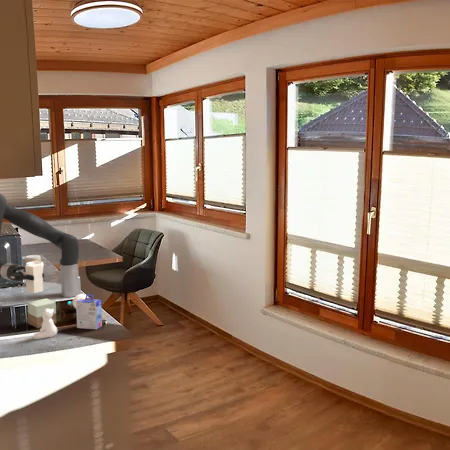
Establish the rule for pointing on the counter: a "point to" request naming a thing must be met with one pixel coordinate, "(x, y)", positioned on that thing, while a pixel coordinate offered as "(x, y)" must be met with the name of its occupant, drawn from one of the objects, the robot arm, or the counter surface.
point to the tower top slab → (40, 307)
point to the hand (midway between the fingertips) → (38, 276)
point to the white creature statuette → (47, 325)
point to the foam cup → (36, 263)
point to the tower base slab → (38, 320)
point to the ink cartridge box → (89, 313)
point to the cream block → (38, 278)
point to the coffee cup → (32, 258)
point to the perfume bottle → (77, 299)
